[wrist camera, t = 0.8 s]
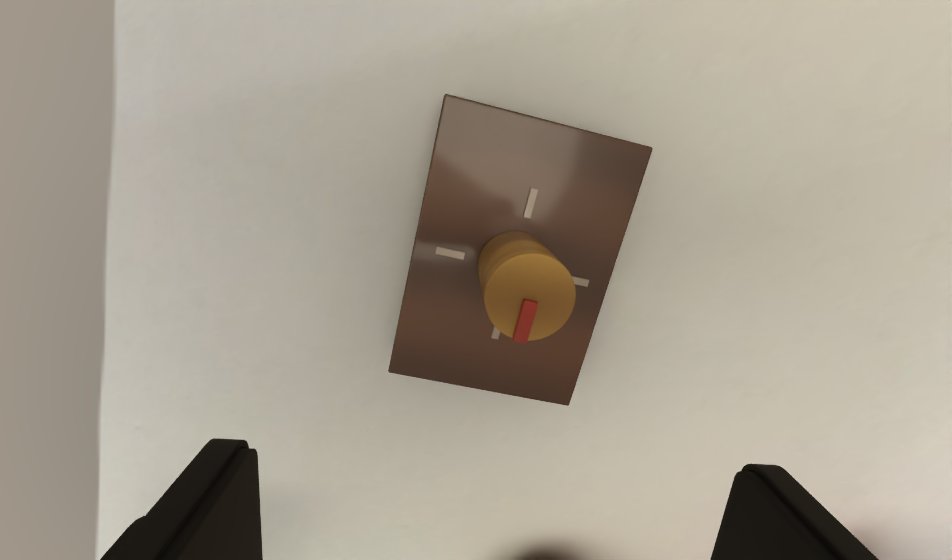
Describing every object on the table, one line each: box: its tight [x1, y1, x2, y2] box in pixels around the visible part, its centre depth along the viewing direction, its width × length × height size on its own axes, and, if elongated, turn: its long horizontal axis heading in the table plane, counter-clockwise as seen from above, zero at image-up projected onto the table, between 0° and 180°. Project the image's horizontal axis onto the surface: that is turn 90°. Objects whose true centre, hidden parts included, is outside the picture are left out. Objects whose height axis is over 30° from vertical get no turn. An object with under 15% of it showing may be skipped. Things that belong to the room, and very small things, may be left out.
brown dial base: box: [388, 94, 652, 406], centre depth 24 cm, size 14×10×3 cm
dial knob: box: [477, 231, 576, 343], centre depth 20 cm, size 4×4×5 cm
